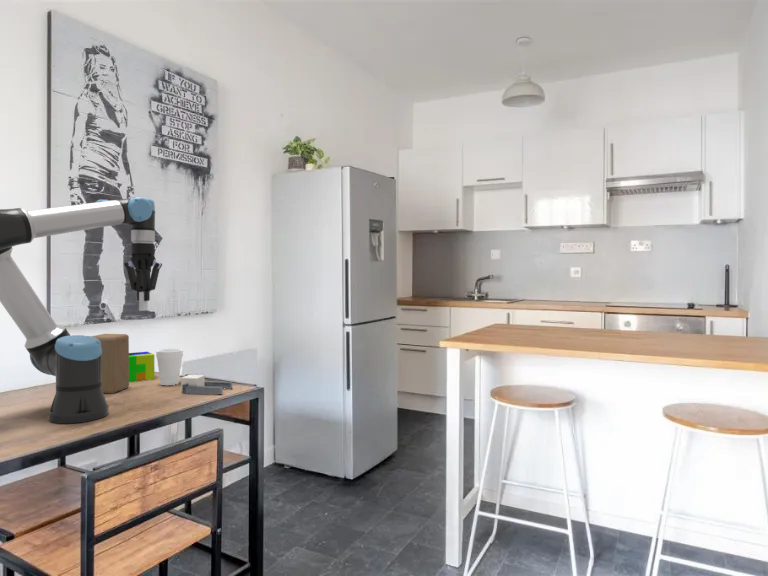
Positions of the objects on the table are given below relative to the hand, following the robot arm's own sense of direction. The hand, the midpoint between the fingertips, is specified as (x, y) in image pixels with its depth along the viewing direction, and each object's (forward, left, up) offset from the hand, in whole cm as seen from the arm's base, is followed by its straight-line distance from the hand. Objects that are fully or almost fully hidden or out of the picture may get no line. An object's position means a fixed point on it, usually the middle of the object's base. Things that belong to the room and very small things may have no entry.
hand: (143, 310), depth 182 cm
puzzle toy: (+24, +17, -30) cm, 42 cm away
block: (+7, -15, -29) cm, 34 cm away
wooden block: (+3, +15, -30) cm, 33 cm away
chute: (+7, -20, -29) cm, 36 cm away
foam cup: (+16, -1, -30) cm, 34 cm away
